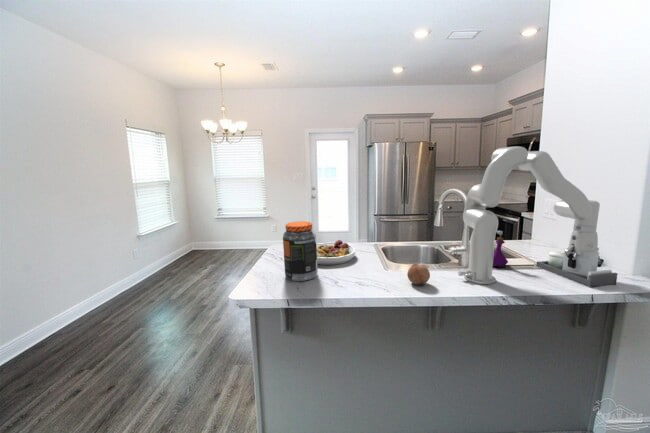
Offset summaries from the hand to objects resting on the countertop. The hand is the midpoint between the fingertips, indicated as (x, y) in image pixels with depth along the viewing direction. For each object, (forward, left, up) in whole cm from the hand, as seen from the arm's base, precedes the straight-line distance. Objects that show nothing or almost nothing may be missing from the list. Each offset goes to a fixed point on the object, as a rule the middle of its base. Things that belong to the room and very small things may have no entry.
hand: (579, 266), depth 133 cm
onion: (-73, +8, -5) cm, 73 cm away
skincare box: (0, 0, -3) cm, 3 cm away
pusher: (0, -8, -4) cm, 9 cm away
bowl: (-105, +54, -5) cm, 118 cm away
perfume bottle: (-24, +21, -5) cm, 32 cm away
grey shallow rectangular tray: (0, +3, -5) cm, 6 cm away
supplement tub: (-123, +29, -5) cm, 126 cm away
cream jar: (0, +11, -4) cm, 12 cm away
